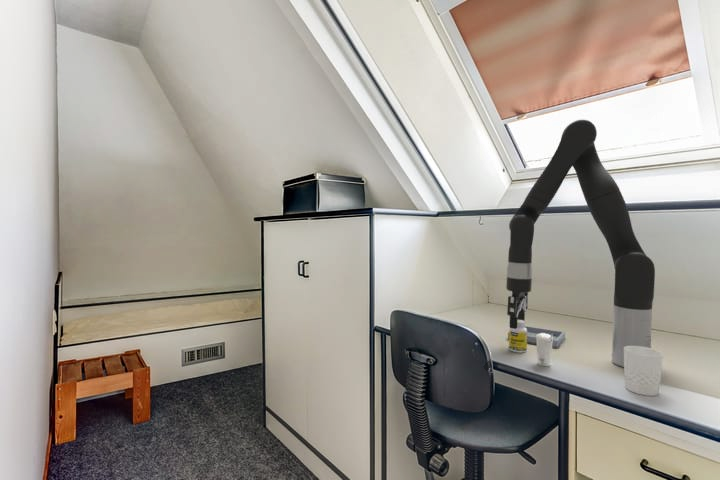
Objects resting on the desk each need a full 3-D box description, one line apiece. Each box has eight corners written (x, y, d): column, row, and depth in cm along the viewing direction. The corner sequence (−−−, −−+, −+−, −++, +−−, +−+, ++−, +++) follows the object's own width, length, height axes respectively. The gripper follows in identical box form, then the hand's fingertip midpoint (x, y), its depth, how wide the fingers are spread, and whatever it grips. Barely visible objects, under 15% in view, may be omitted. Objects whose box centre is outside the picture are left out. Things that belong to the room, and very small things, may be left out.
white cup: (666, 399, 91) (668, 357, 91) (627, 394, 94) (628, 353, 94) (655, 386, 98) (656, 347, 98) (618, 381, 101) (620, 344, 101)
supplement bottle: (507, 351, 125) (508, 321, 125) (509, 346, 130) (510, 317, 130) (525, 354, 123) (526, 323, 122) (527, 349, 128) (528, 319, 127)
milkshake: (544, 369, 110) (545, 334, 110) (531, 362, 115) (532, 329, 115) (558, 367, 111) (559, 333, 111) (544, 361, 117) (545, 328, 116)
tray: (565, 338, 140) (565, 332, 140) (557, 348, 128) (557, 341, 128) (518, 331, 149) (518, 324, 149) (507, 339, 138) (508, 332, 138)
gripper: (525, 279, 118) (523, 332, 119) (536, 275, 129) (534, 323, 130) (500, 277, 122) (498, 328, 123) (513, 273, 134) (511, 319, 134)
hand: (517, 325), depth 127 cm, fingers open, 8 cm apart
